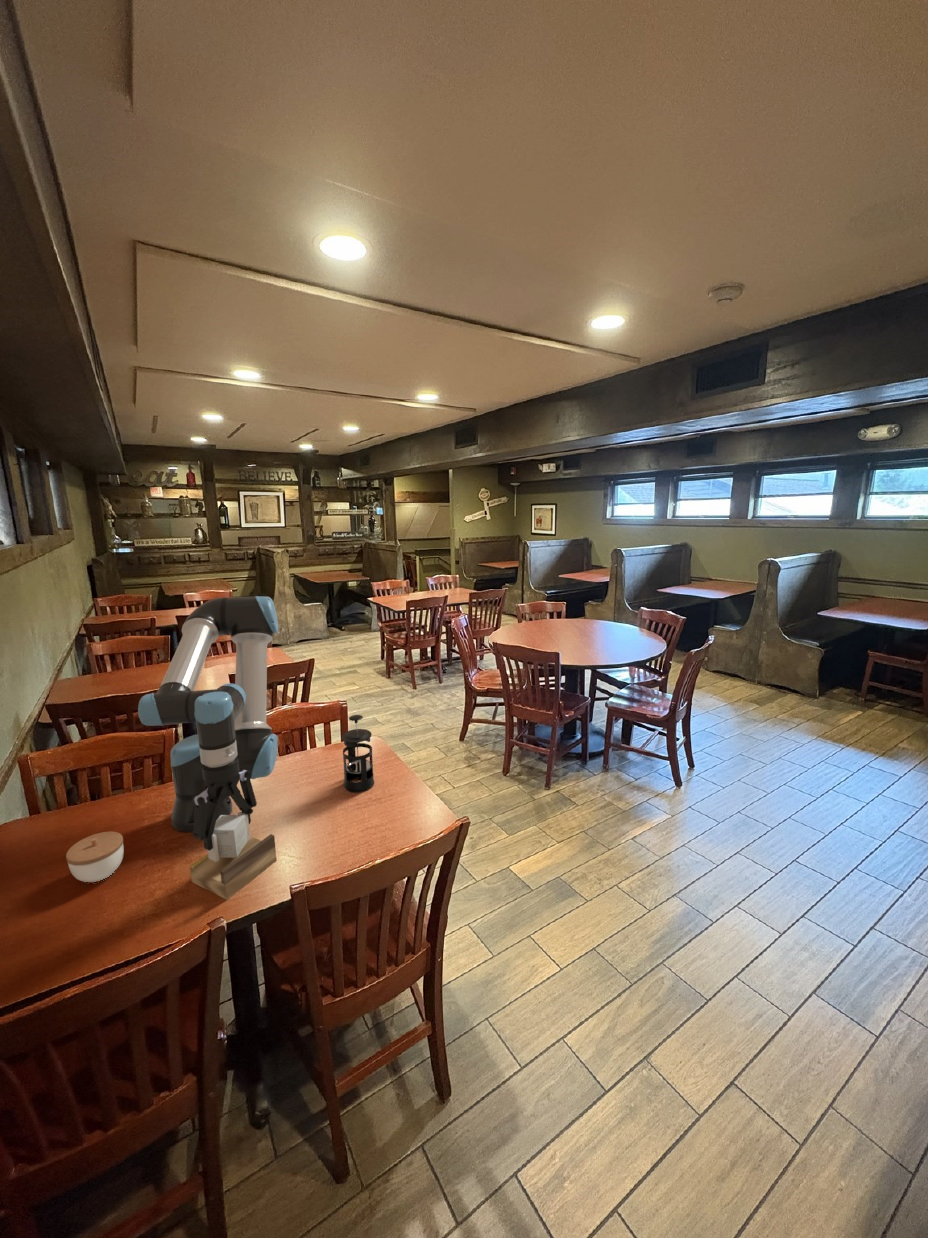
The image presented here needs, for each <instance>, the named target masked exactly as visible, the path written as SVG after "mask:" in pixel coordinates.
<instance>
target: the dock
mask: <svg viewBox="0 0 928 1238" xmlns="http://www.w3.org/2000/svg"><path fill="white" fill-rule="evenodd" d="M276 849H277V848H276V838H275V835H274V834H271V833H270V834H268V835H267V836H265V837H264V838H263V839H258V838H256V837H253V836H251V835H250V839H249V840H248V841H247V843H246V844H245V846H244V847H243V849H242V850H241V852H240V854H239V855H238V857H236V858H230V857H219V861H217V862H215V861H213V860H211V859H209V858H208V853H207V854H206V855H203V857H201V858H200V859H198V860H197V861H195V862H194V863H192V864H191V865H189V870H190V878H191V882H192V883H193V884H194V885H197V886H199V887H201V888H202V889H205V890H207V891H209V892H211V893H213V894H215V895H216V896H218V897H220V898H223V899H225V900H227V901H228V900H229V899H230V898H232V897H233V896H234V895H236V894H237V893H238V892H239V891H241V890H242V889H243V888H244V887H246V885H248V884H249V883H250V882H252V881H253V880H254V879H256V878H257V877H258V876H259V875H261V873H263V872H264V871H266V870H267V869H268V868H270V866H272V865H273V864H275V862H276V861H277V851H276Z"/></svg>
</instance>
